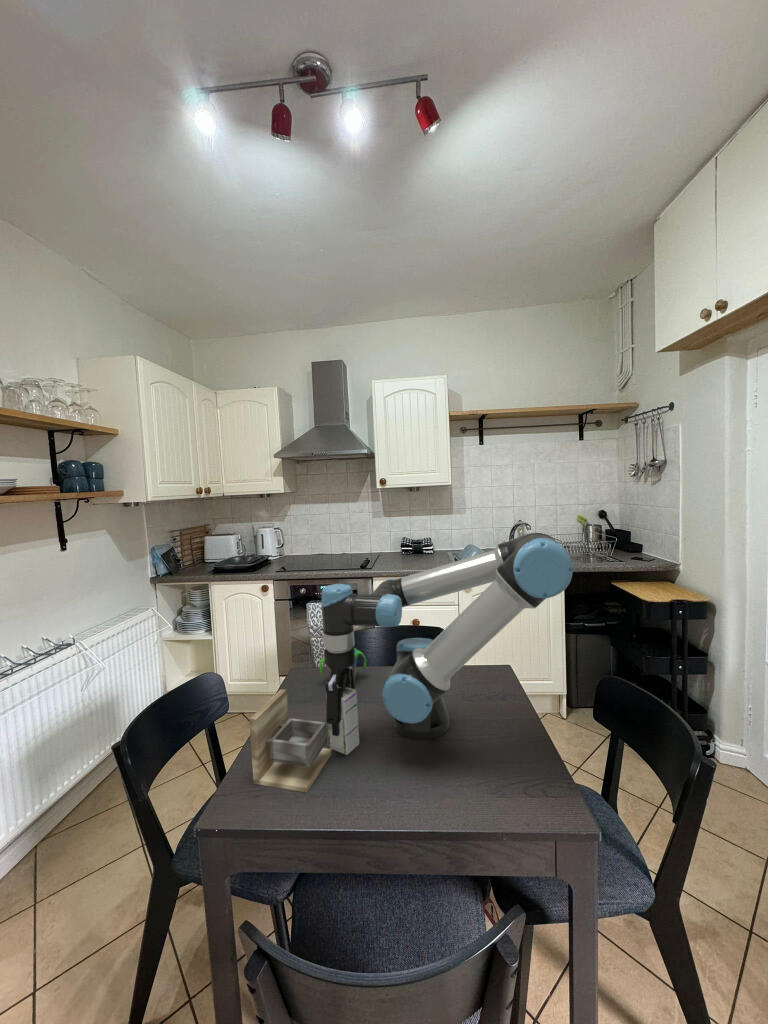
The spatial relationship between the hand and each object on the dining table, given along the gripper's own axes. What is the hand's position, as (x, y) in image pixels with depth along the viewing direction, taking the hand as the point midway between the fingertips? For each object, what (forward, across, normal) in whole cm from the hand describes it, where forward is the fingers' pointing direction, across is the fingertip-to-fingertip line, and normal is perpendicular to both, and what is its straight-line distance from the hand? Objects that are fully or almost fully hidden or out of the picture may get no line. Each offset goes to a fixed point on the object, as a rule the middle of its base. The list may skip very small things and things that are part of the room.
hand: (343, 736), depth 109 cm
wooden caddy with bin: (+3, +10, -9) cm, 13 cm away
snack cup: (+3, -34, -13) cm, 37 cm away
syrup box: (+3, 0, 0) cm, 3 cm away
